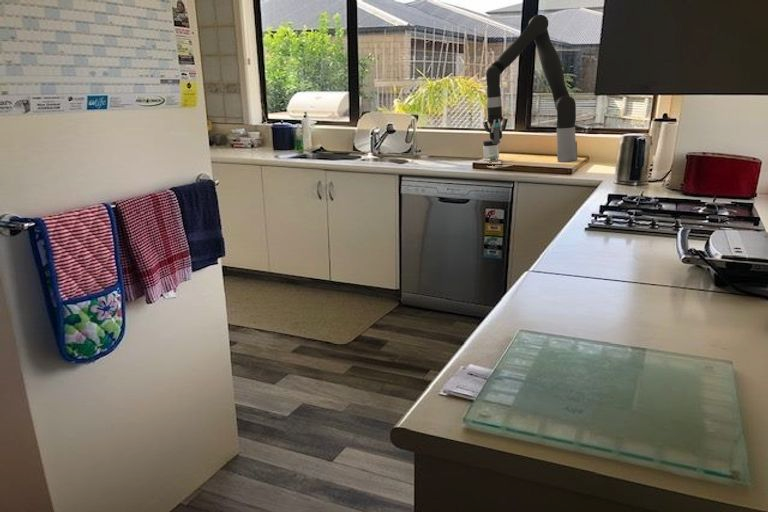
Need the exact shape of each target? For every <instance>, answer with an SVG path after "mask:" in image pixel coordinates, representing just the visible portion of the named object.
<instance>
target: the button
mask: <svg viewBox="0 0 768 512" xmlns="http://www.w3.org/2000/svg"><path fill="white" fill-rule="evenodd" d="M488 158H490V161H493V160H496V158H497V155H489V156H488Z"/></svg>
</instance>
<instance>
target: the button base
mask: <svg viewBox="0 0 768 512" xmlns="http://www.w3.org/2000/svg"><path fill="white" fill-rule="evenodd" d="M484 161H487V162H489V163H492V162H498V161H501V162H502V159H500V158H499V159H496V160H493V161H490V160H484V159H483V162H484Z"/></svg>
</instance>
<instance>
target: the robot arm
mask: <svg viewBox="0 0 768 512" xmlns="http://www.w3.org/2000/svg"><path fill="white" fill-rule="evenodd" d="M548 28H549V20H548V18H547V16H546V15H544V14H536V15H534V16H533V17H531V18H530V20H529V21H528V25H527V26H526V27H525V29H524V30H523V32H522V33H520V35H519V36H518V37H517V38H516V39H515V40H514V41H512V43H511V44H510V45H508V47H506V48H505V50H504V51H503V52H502V53H501V54H500V55H499V56H498V58H497V59H496V60H495V61H494V62H493V63H492V64H491V65H490V66H489V67H488V68H487V69H486V70H485V77H486V109H487V110H486V111H487V119H486V120H484V121H482V124H483V127H484V130H485V132H487V133H489V140H494V133H493V130H494V127H495V123H499V135H500V140H502V138H503V132H504V130H506V127H507V124H508V121H509V120H508V118H505V117H504V116H503V105H502V94H501V93H502V92H501V74H503V73H504V72H505V70H506V69H507V68H508V67H509V66H511V64H513V62H514V61H515V60H517V58H518V57H519V56H520V55H521V53H523V51H524V50H525V49H526V48H527V47H528V46H529V45H530V44H531V43H532V42H533V41H534V44H535V45H536V49H537V54H538V57H539V61H540V65H541V68H542V71H543V73H544V76H545V78H546V81H547V84H548V85H549V88H550V90H551V93H552V98H553V101H554V102H553V103H554V107H555V110H556V114H557V115H556V118H557V119H556V151H557V153H556V155H557V156H556V157H557V162H560V163H561V162H563V163H564V162H573V161H577V160H578V141H577V140H576V121H577V120H576V116H577V115H576V113H577V109H576V108H577V106H576V100H575V98H573V96H570V93H569V90H568V89H567V86H566V83H565V81H566V80H565V76H564V75H565V74H564V69H563V65H562V61H561V59H560V56H559V55H558V54H559V53H558V52H557V50H556V48H555V46H554V45H553V43H552V41H551V38H550V34H549V29H548Z"/></svg>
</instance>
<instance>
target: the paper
mask: <svg viewBox="0 0 768 512" xmlns="http://www.w3.org/2000/svg"><path fill="white" fill-rule="evenodd" d="M513 165H514V164H512V165H495V166H493V165H492V166H488V165H485V166H486V168H489V169H499V168H506V167H513Z"/></svg>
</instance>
